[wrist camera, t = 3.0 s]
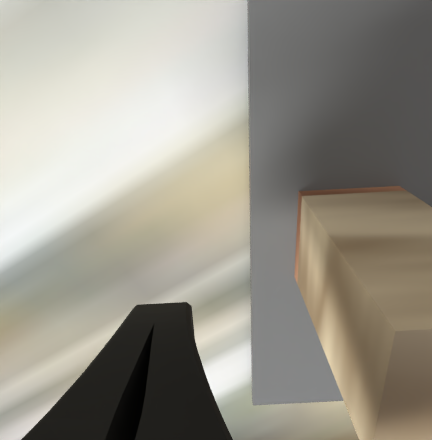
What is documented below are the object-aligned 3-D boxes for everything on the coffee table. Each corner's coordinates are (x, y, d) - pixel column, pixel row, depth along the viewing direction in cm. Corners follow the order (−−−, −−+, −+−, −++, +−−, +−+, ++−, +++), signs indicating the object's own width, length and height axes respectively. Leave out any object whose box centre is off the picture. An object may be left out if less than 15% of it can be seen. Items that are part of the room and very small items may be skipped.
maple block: (384, 271, 14) (537, 455, 8) (294, 276, 14) (368, 463, 8) (399, 185, 13) (605, 319, 6) (298, 191, 13) (395, 331, 6)
